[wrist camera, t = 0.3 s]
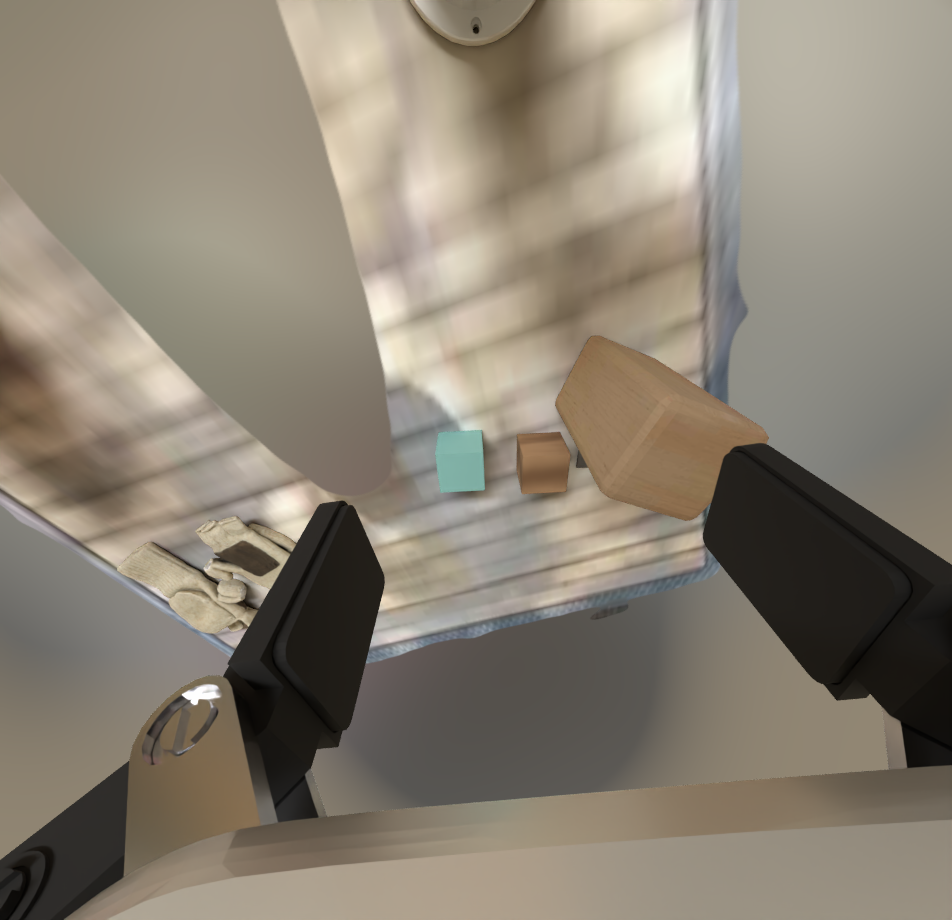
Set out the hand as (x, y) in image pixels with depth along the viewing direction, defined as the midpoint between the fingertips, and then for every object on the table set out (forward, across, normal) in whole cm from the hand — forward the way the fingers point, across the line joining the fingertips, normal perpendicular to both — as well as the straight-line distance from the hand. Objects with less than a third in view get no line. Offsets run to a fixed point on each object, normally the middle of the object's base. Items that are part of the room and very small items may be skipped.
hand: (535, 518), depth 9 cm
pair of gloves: (+37, +51, +38) cm, 73 cm away
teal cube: (+36, +6, +18) cm, 41 cm away
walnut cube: (+36, -5, +20) cm, 42 cm away
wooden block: (+36, -14, +11) cm, 40 cm away
